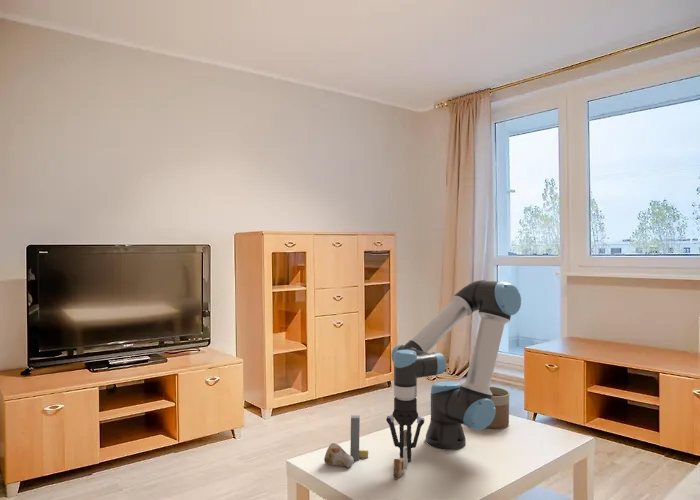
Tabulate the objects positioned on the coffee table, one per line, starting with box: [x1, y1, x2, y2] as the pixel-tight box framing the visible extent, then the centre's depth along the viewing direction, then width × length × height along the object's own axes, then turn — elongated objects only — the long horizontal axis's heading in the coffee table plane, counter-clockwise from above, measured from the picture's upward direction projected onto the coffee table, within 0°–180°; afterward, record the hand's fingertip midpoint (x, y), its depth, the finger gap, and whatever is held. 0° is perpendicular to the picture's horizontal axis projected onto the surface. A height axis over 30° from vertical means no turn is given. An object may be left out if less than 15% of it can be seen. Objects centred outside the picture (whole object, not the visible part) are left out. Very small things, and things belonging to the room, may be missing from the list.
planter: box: [485, 385, 510, 429], centre depth 222 cm, size 16×16×14 cm
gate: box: [393, 457, 405, 480], centre depth 173 cm, size 14×2×6 cm, turn 162°
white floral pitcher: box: [323, 442, 354, 468], centre depth 178 cm, size 8×10×10 cm
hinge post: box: [404, 429, 413, 464], centre depth 182 cm, size 3×3×11 cm
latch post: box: [349, 414, 369, 462], centre depth 183 cm, size 6×4×15 cm, turn 87°
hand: (405, 467), depth 173 cm, fingers closed
